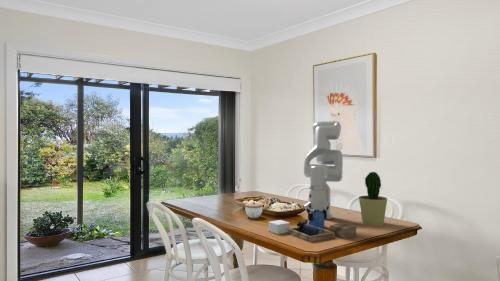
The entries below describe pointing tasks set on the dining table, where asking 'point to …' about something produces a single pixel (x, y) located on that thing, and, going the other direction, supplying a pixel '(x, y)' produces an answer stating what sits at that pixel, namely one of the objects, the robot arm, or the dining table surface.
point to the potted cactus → (373, 202)
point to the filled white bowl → (253, 209)
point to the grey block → (278, 226)
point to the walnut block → (343, 230)
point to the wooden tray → (323, 236)
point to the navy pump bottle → (308, 228)
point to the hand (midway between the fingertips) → (317, 219)
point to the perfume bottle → (317, 219)
